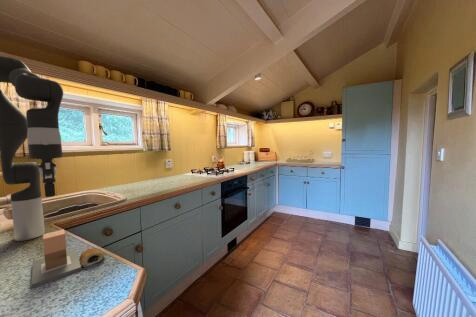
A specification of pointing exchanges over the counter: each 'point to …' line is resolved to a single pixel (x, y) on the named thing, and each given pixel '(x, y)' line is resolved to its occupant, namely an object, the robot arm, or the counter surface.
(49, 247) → the terracotta block
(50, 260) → the walnut block
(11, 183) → the robot arm
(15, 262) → the counter surface
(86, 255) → the pastry
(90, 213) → the counter surface
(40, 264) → the plate
